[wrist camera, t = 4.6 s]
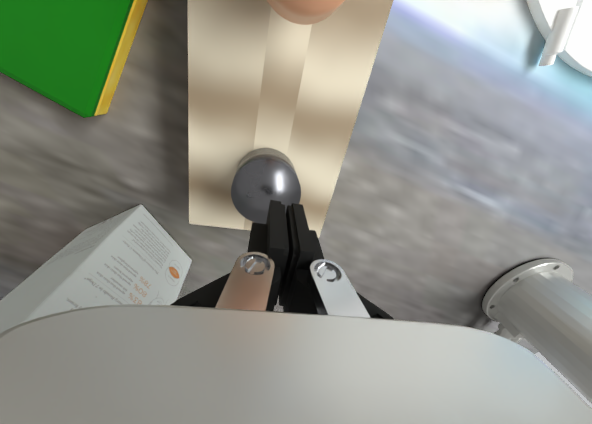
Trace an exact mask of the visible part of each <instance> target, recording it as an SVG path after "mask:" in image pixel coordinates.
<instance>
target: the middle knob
mask: <svg viewBox="0 0 592 424" xmlns="http://www.w3.org/2000/svg"><path fill="white" fill-rule="evenodd" d="M344 1H345V0H267V2H268V3H269V4H270V6H271V7H272V8H273V9H274V10H275V11H276V12H277V14H279V15H280V16H281V17H283V18H284V19H286V20H288V21H290V22H292V23H295V24H300V25H310V24H315V23H318V22H320V21H322V20H324V19H326V18H327V17H329V16H330V15H331V14H332V13H333V12H334V11H335V10H336V9H337V8H338V7H339V6H340V5H341V4H342V3H343V2H344Z"/></svg>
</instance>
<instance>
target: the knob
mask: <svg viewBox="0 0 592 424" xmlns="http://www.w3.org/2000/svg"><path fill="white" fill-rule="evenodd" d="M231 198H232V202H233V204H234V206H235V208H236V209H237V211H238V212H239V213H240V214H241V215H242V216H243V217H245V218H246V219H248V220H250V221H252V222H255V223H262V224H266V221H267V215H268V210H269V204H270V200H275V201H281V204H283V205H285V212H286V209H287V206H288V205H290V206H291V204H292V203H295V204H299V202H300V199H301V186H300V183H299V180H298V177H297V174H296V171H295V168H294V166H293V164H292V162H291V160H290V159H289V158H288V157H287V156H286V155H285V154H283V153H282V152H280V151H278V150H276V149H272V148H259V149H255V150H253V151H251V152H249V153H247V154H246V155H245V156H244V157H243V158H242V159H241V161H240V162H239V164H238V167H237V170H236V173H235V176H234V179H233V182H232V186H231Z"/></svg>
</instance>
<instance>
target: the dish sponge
mask: <svg viewBox="0 0 592 424" xmlns="http://www.w3.org/2000/svg"><path fill="white" fill-rule="evenodd" d="M147 1H148V0H0V72H1V73H3V74H5V75H7V76H9V77H10V78H12V79H14V80H16V81H18V82H20V83H21V84H23V85H25V86H27V87H29V88H31V89H32V90H34V91H36V92H38V93H40V94H42V95H43V96H45V97H47V98H49V99H51V100H52V101H54V102H56V103H58V104H60V105H62V106H63V107H65V108H67V109H69V110H71V111H73V112H74V113H76V114H78V115H80V116H82V117H84V118H86V117H91V116H96V115H101V114H106V113H107V111H108V109H109V106H110V103H111V100H112V98H113V95H114V92H115V89H116V87H117V84H118V81H119V78H120V76H121V73H122V70H123V67H124V65H125V62H126V59H127V56H128V54H129V51H130V48H131V45H132V42H133V40H134V37H135V34H136V31H137V29H138V26H139V23H140V20H141V18H142V15H143V12H144V9H145V7H146V4H147Z"/></svg>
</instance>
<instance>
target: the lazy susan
mask: <svg viewBox="0 0 592 424" xmlns="http://www.w3.org/2000/svg"><path fill="white" fill-rule="evenodd" d="M526 1H527V4H528V7H529V10H530V12H531V15H532V17H533V19H534V22H535V24H536V26H537V27H538V29H539V31H540V33H541V35H542V36H543V38H544V39H545V41H546V43H545V46H544V49H543V52H542V57H541V60H540V63H539V66H545V65H552V64H553V63H554V60H555V58H556V55H558V56H559V57H560V58H561V59H562V60H563V61H564V62H565V63H567V64H568V65H569V66H571V67H572V68H574V69H576V70H577V71H579V72H581V73H583V74H585V75H588V76H590V77H592V0H526Z"/></svg>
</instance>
